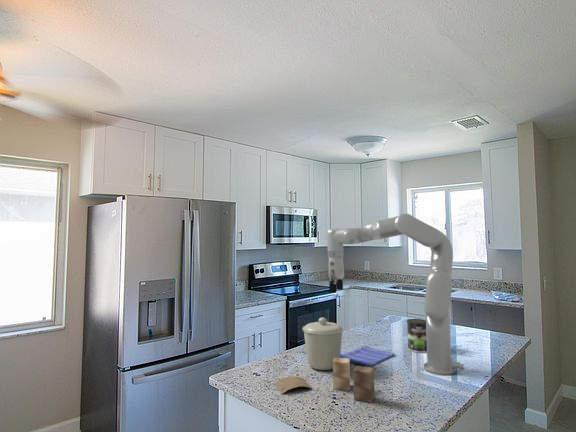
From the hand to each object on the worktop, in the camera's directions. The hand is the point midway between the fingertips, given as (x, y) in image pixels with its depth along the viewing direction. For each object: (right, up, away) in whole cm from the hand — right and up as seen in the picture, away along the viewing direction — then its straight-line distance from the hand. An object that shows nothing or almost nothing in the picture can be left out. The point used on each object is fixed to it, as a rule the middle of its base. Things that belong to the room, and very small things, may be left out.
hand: (336, 291), depth 172 cm
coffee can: (+42, -31, +8) cm, 53 cm away
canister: (-7, -30, -14) cm, 34 cm away
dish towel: (+13, -31, -3) cm, 34 cm away
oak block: (-3, -29, -36) cm, 46 cm away
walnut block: (+4, -28, -46) cm, 54 cm away
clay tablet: (-21, -30, -35) cm, 50 cm away
